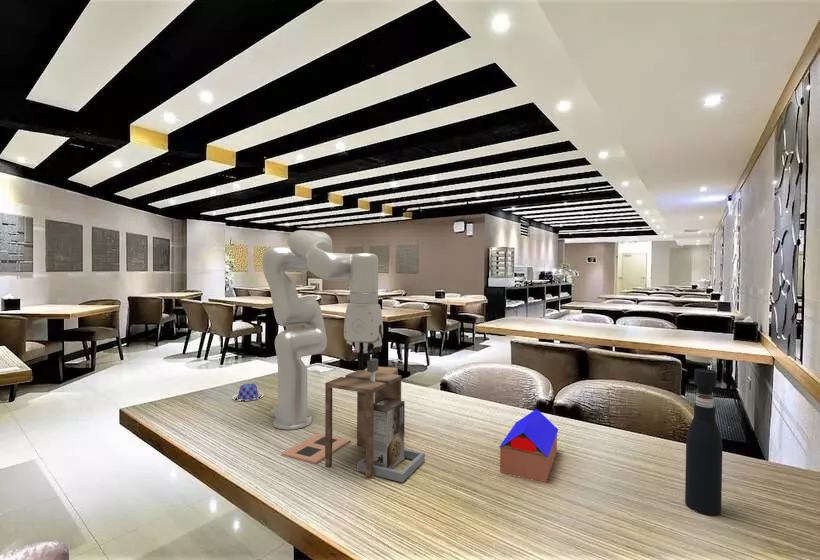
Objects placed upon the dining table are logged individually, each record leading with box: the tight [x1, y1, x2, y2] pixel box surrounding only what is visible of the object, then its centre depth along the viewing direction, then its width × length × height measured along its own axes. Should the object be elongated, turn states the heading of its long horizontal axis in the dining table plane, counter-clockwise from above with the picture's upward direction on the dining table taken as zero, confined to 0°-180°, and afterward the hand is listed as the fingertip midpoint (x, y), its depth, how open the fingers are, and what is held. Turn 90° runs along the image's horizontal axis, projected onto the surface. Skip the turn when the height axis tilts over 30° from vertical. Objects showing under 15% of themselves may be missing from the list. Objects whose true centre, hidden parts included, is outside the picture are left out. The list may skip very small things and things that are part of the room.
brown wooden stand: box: [324, 369, 402, 480], centre depth 110 cm, size 14×16×22 cm
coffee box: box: [373, 398, 406, 469], centre depth 108 cm, size 9×6×16 cm
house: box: [498, 408, 559, 483], centre depth 110 cm, size 12×20×12 cm, turn 153°
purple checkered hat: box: [231, 383, 265, 402], centre depth 165 cm, size 12×12×5 cm
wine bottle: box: [684, 368, 723, 517], centre depth 88 cm, size 6×6×30 cm
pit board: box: [280, 432, 351, 465], centre depth 117 cm, size 12×16×1 cm
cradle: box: [356, 358, 426, 483], centre depth 106 cm, size 13×13×27 cm
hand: (363, 366), depth 110 cm, fingers closed
